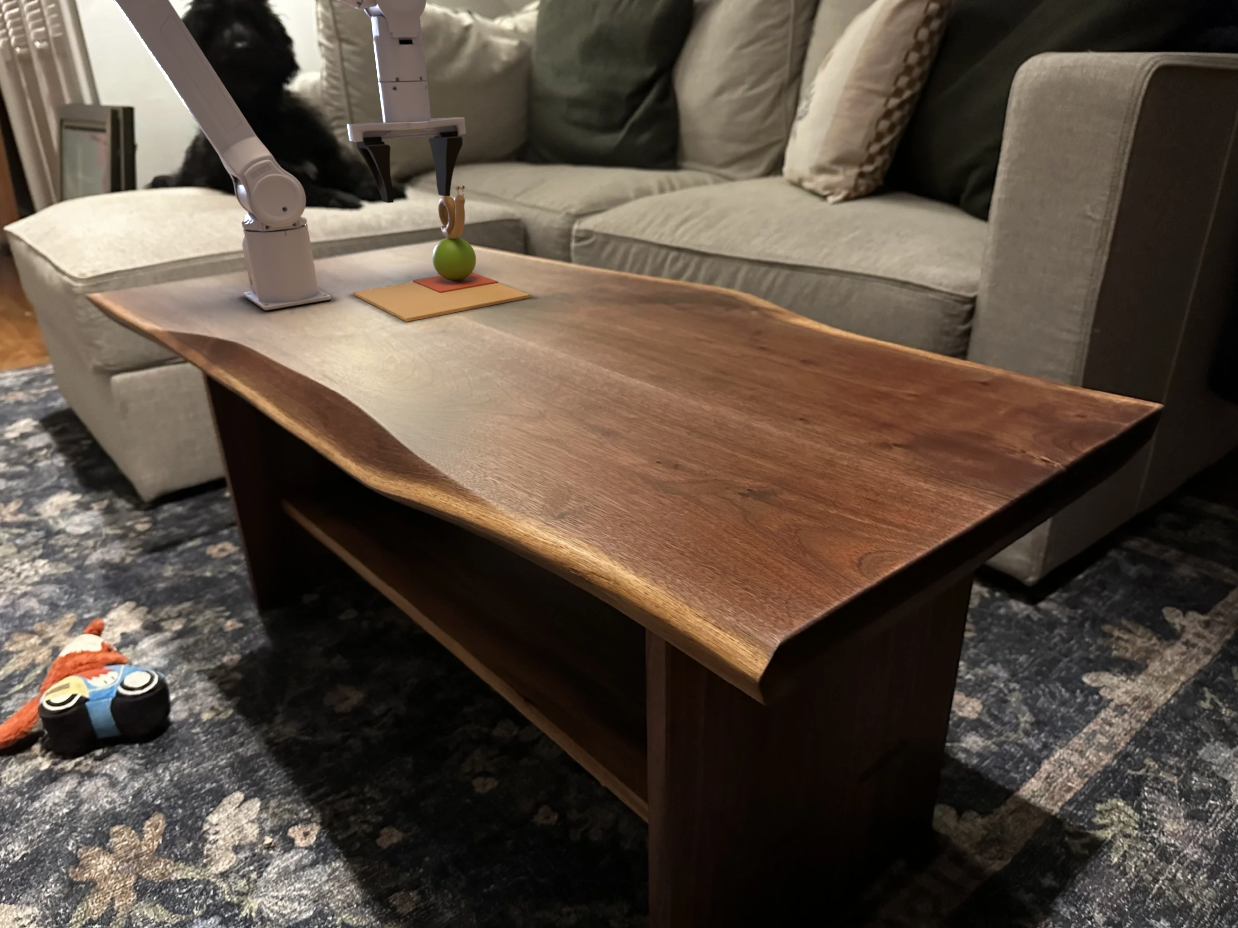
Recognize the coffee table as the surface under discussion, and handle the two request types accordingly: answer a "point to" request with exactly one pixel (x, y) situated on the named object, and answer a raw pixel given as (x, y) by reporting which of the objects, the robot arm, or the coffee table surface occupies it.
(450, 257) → the snail figurine
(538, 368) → the coffee table surface
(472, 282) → the corner mat
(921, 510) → the coffee table surface
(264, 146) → the robot arm
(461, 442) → the coffee table surface
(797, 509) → the coffee table surface
